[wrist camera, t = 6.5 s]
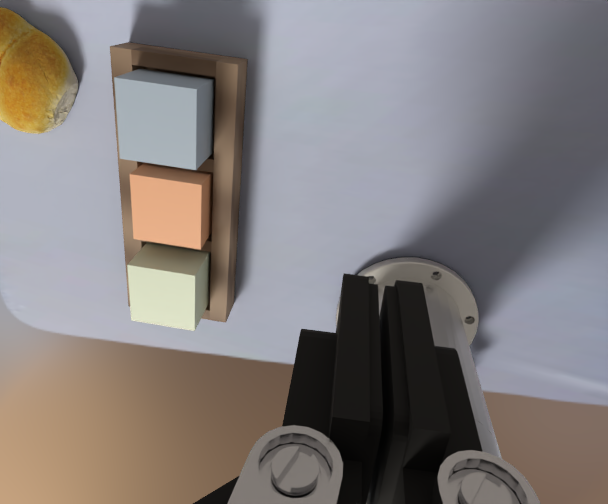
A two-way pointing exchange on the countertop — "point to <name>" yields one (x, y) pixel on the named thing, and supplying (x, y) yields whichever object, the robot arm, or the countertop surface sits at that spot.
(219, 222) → the wooden tray
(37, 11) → the countertop surface
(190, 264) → the sage button
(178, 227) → the orange block
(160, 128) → the slate button
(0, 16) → the bread roll
